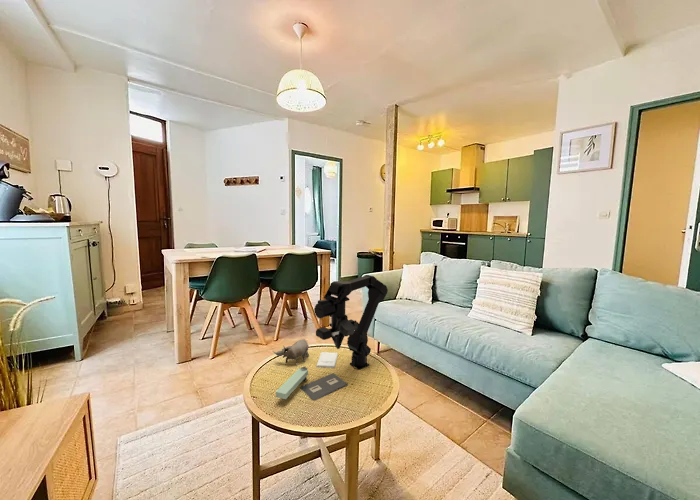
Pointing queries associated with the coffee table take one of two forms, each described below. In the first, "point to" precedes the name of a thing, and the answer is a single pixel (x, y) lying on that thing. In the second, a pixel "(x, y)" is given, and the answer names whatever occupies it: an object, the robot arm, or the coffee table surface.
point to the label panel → (323, 386)
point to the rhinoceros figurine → (295, 351)
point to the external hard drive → (327, 360)
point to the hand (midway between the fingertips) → (338, 348)
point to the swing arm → (292, 383)
